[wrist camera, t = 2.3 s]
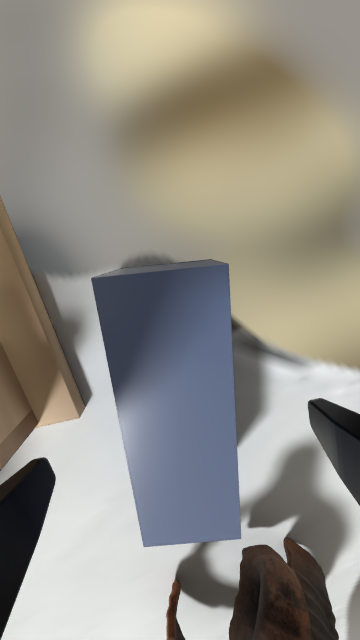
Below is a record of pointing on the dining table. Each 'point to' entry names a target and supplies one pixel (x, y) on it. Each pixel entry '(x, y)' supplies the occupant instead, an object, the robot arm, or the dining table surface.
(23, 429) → the display cradle
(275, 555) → the pottery mug
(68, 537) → the dining table surface
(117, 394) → the tall slate-blue box
